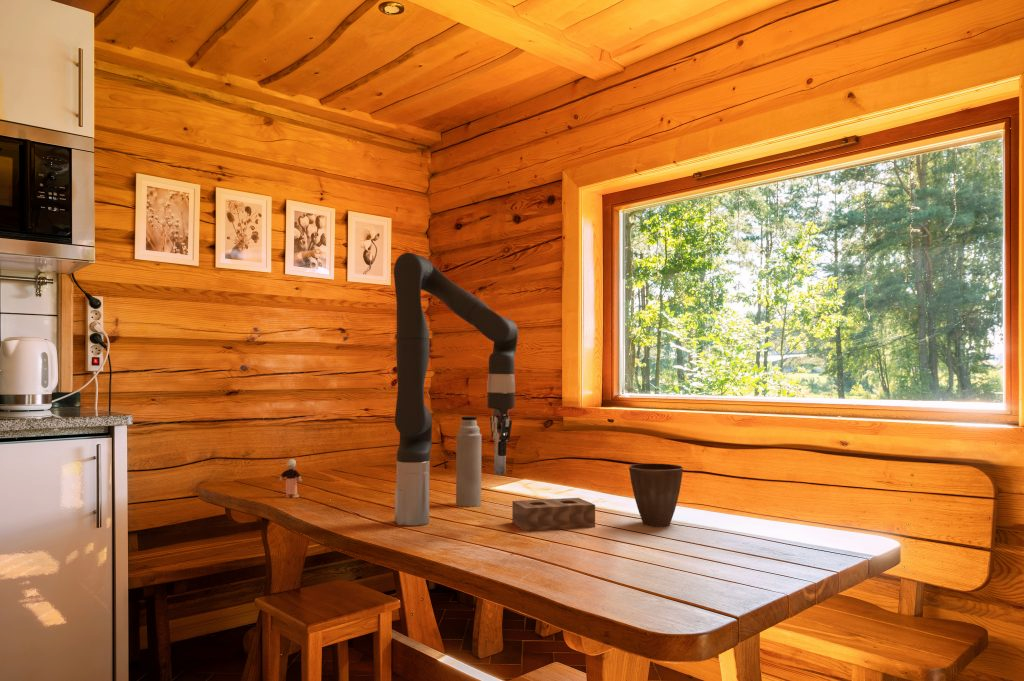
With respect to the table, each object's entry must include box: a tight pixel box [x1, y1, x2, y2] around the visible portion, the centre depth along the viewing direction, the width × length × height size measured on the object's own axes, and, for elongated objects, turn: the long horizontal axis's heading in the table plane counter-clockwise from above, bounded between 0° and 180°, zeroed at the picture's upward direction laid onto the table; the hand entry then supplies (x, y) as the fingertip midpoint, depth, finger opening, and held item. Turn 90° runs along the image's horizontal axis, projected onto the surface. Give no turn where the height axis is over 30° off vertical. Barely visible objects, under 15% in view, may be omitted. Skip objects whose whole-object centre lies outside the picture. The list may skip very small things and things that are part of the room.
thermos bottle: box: [455, 416, 483, 508], centre depth 240 cm, size 8×8×28 cm
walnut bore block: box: [511, 497, 596, 532], centre depth 209 cm, size 20×12×6 cm, turn 107°
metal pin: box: [493, 425, 507, 476], centre depth 203 cm, size 3×3×14 cm
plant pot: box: [628, 463, 684, 527], centre depth 211 cm, size 15×15×16 cm
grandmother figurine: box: [278, 458, 303, 499], centre depth 253 cm, size 8×4×13 cm, turn 94°
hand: (500, 454), depth 203 cm, fingers closed on metal pin, 3 cm apart
